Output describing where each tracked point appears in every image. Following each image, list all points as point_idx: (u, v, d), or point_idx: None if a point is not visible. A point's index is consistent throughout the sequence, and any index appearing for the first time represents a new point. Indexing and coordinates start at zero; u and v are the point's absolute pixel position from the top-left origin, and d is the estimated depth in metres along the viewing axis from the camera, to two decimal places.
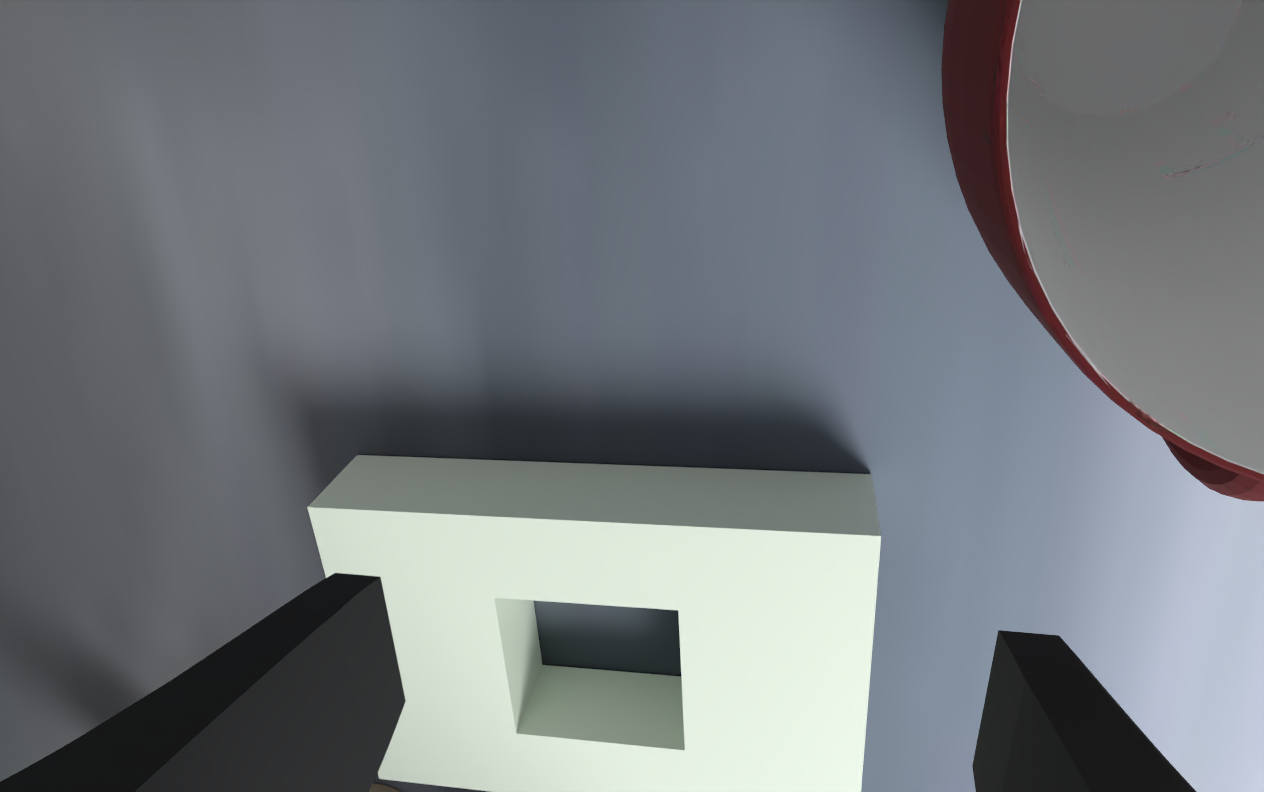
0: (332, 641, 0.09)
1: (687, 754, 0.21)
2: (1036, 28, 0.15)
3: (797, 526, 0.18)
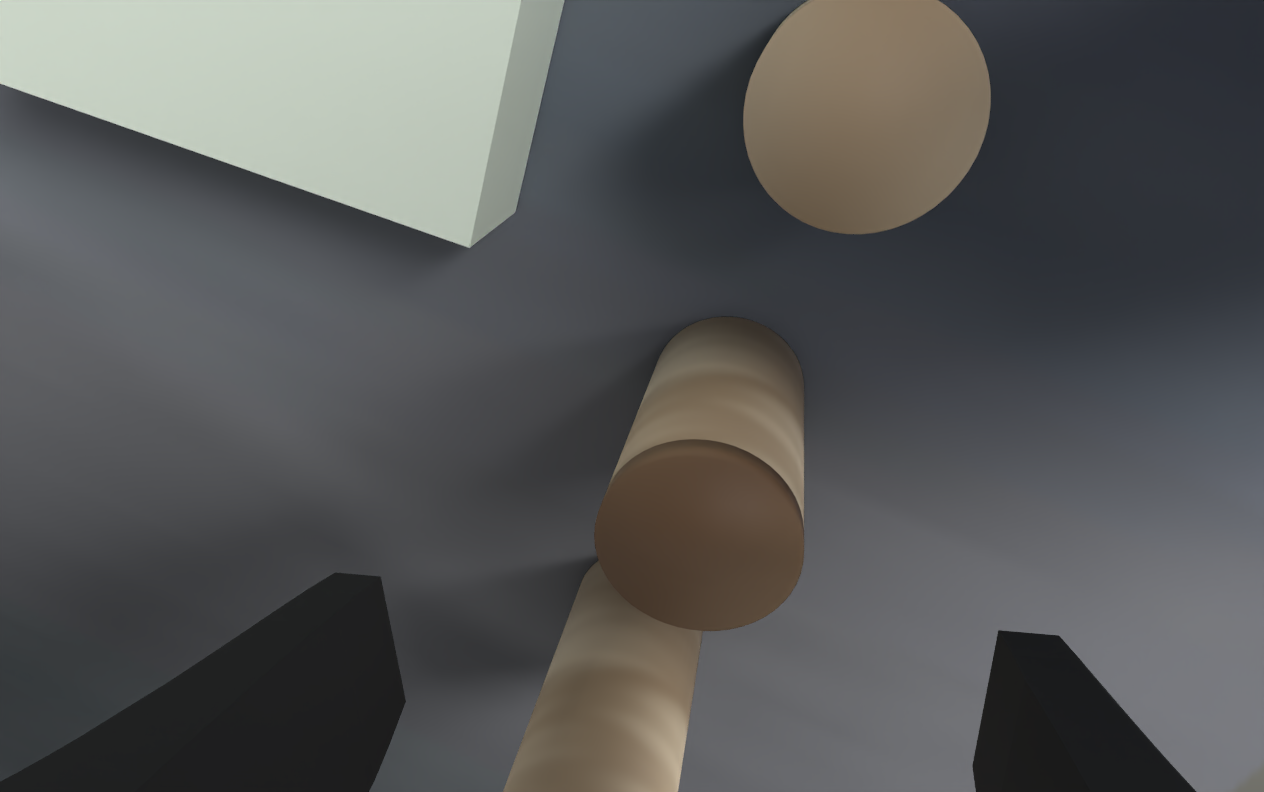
0: (331, 641, 0.09)
1: None
2: None
3: None
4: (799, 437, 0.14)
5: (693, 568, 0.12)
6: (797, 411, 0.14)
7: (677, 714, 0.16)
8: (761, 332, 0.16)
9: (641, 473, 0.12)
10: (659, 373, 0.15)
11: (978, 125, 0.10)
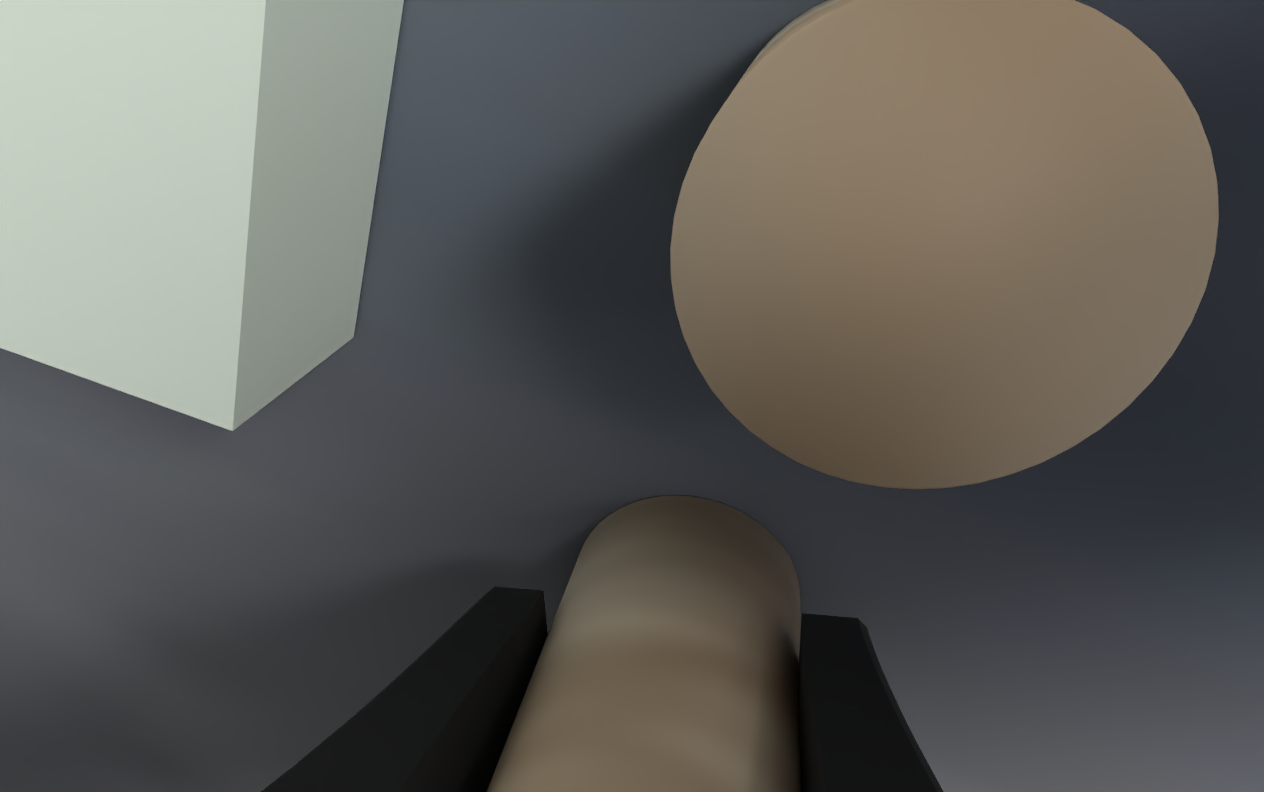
0: (511, 660, 0.09)
1: None
2: None
3: None
4: (793, 754, 0.08)
5: None
6: (790, 689, 0.09)
7: None
8: (734, 527, 0.10)
9: None
10: (569, 608, 0.09)
11: (1181, 291, 0.05)
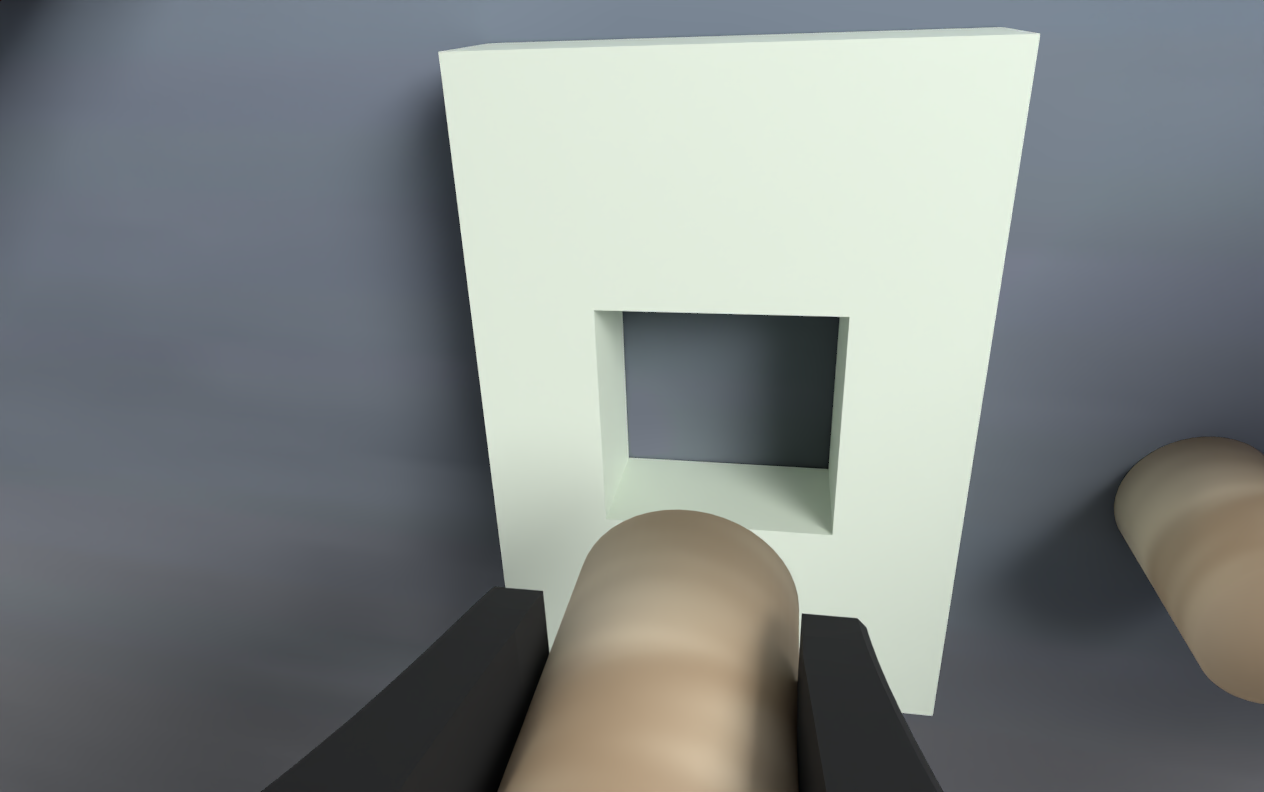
0: (511, 659, 0.09)
1: (858, 314, 0.14)
2: None
3: (455, 158, 0.14)
4: (784, 752, 0.08)
5: None
6: (781, 689, 0.09)
7: None
8: (720, 536, 0.10)
9: None
10: (564, 630, 0.10)
11: None
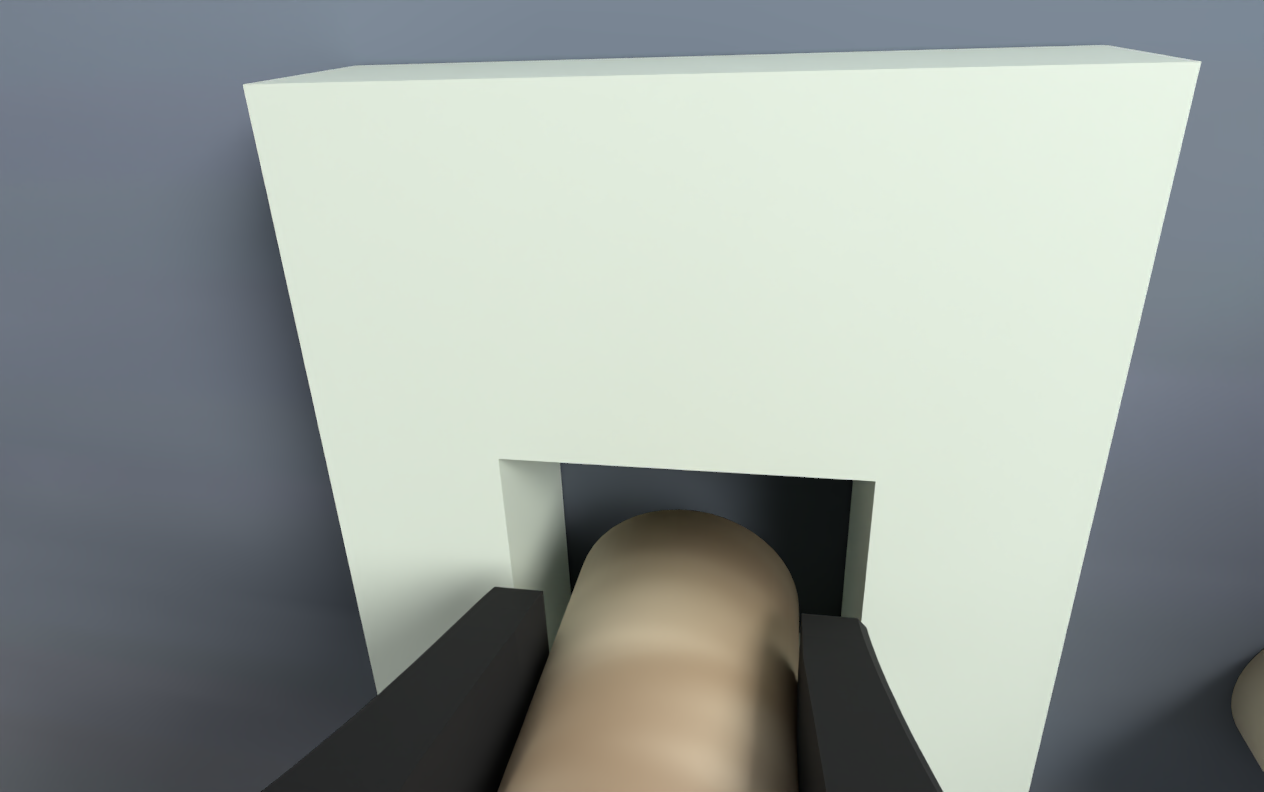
0: (511, 659, 0.09)
1: (889, 478, 0.09)
2: None
3: (287, 240, 0.10)
4: (784, 752, 0.08)
5: None
6: (780, 689, 0.09)
7: None
8: (720, 536, 0.10)
9: None
10: (564, 630, 0.10)
11: None
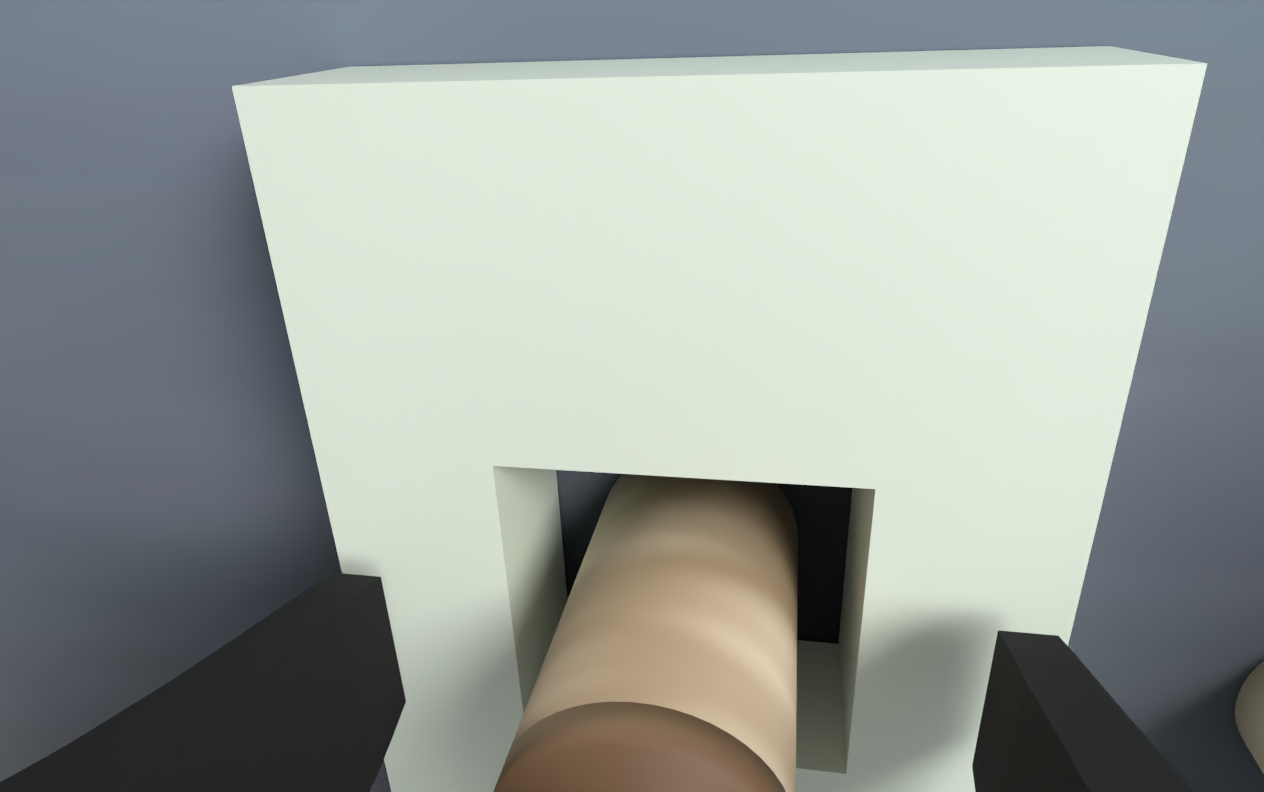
0: (332, 641, 0.09)
1: (888, 485, 0.09)
2: None
3: (278, 243, 0.09)
4: (784, 635, 0.10)
5: None
6: (781, 588, 0.10)
7: None
8: None
9: (534, 767, 0.08)
10: (593, 544, 0.11)
11: None
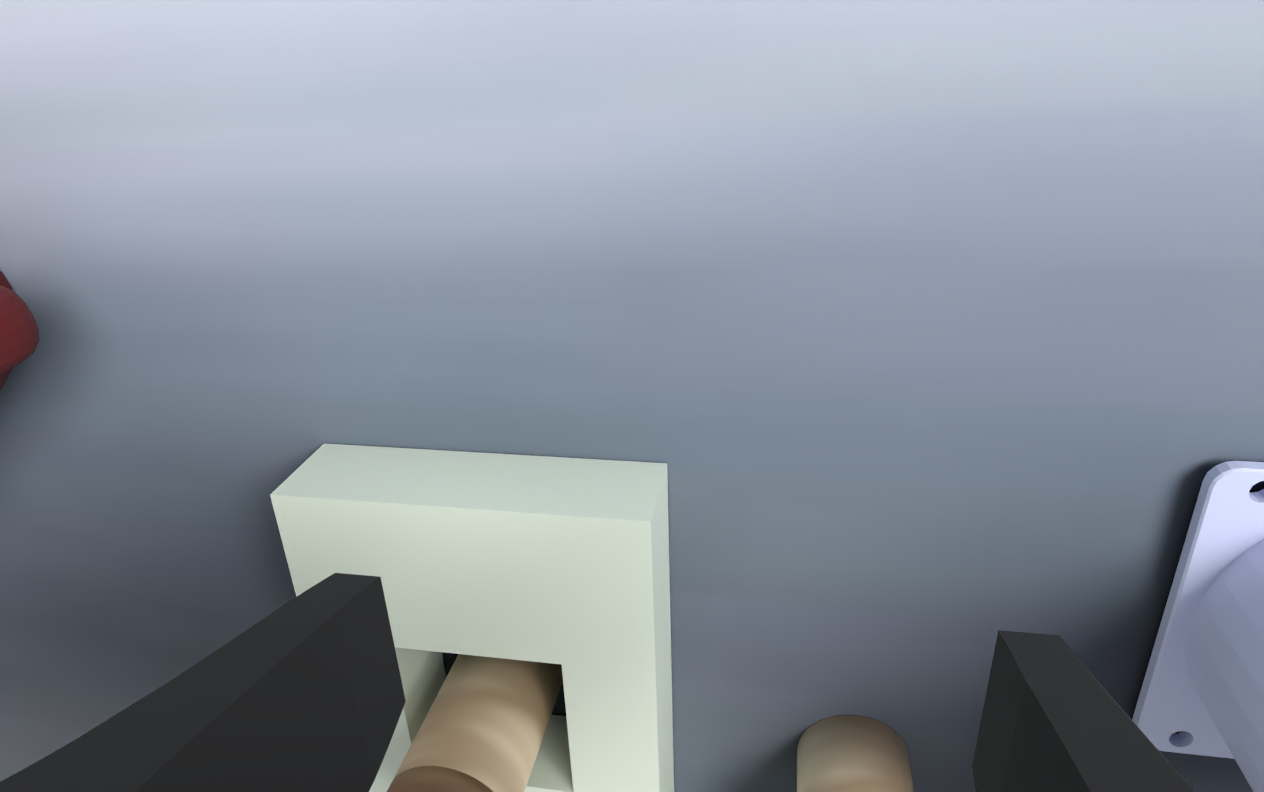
0: (331, 641, 0.09)
1: (566, 663, 0.20)
2: None
3: (289, 549, 0.20)
4: (527, 728, 0.21)
5: None
6: (533, 703, 0.21)
7: None
8: None
9: None
10: (447, 676, 0.22)
11: None
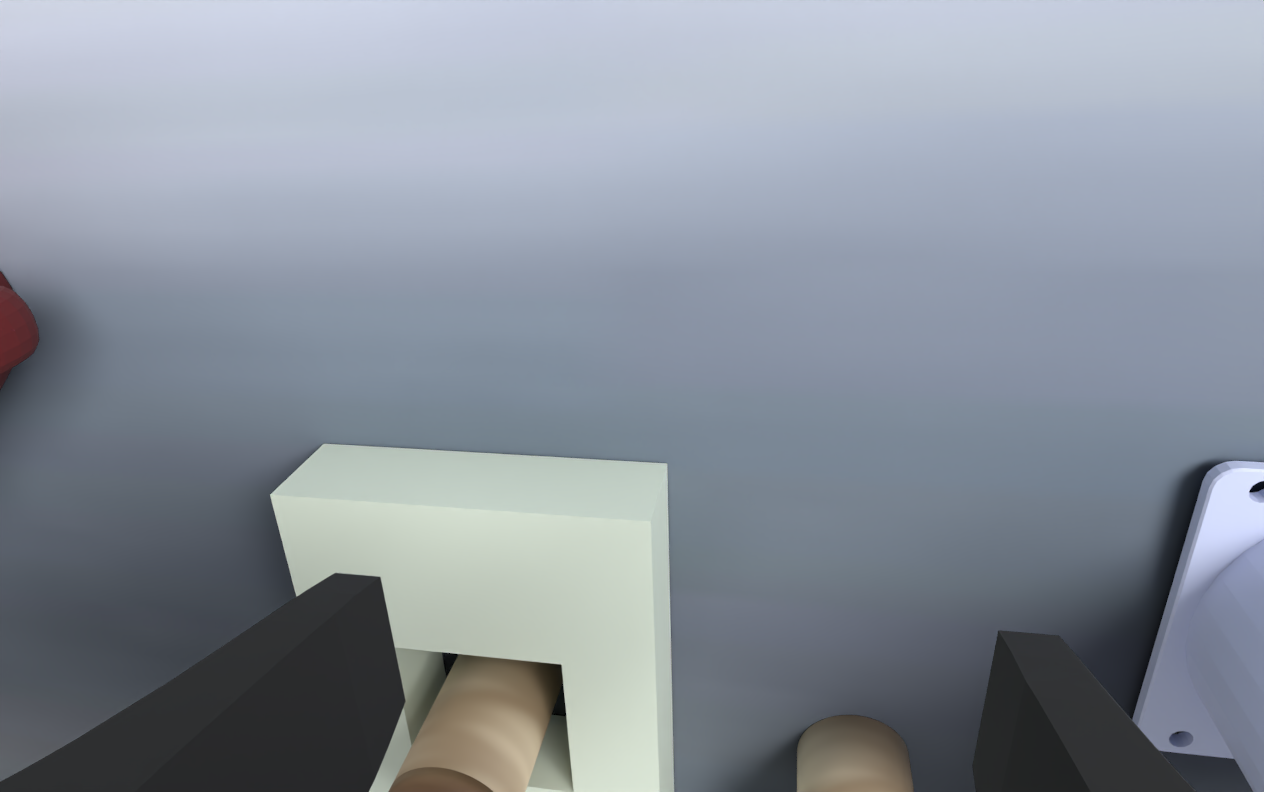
0: (331, 640, 0.09)
1: (566, 663, 0.20)
2: None
3: (289, 549, 0.20)
4: (528, 729, 0.21)
5: None
6: (533, 703, 0.21)
7: None
8: None
9: None
10: (448, 677, 0.22)
11: None
